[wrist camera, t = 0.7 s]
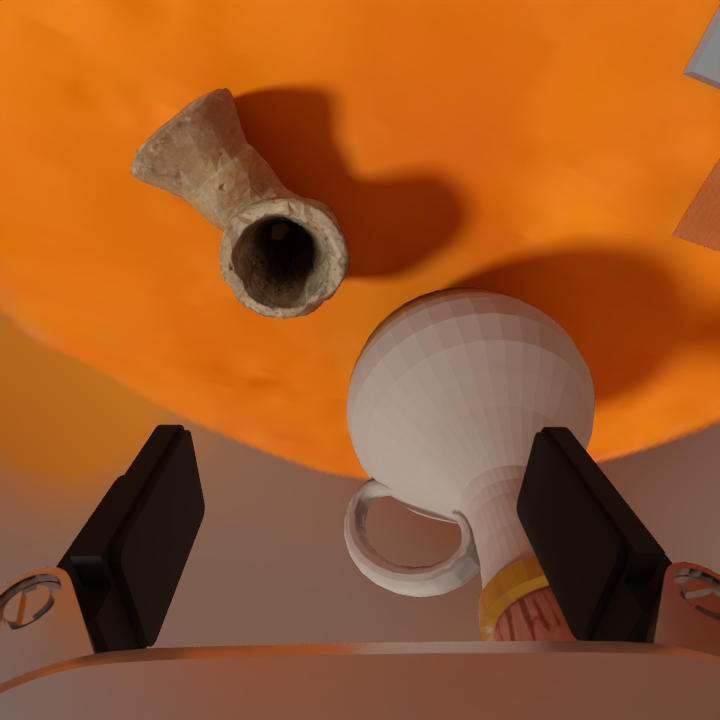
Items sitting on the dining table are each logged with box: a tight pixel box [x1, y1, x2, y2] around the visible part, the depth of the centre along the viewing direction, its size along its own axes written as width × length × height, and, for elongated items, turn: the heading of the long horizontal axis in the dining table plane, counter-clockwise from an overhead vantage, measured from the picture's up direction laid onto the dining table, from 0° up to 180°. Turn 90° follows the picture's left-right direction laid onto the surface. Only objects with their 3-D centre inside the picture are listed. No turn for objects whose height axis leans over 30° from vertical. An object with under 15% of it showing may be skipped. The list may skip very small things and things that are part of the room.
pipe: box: [131, 88, 350, 318], centre depth 31 cm, size 9×16×10 cm, turn 42°
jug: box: [344, 287, 595, 642], centre depth 28 cm, size 20×18×30 cm
